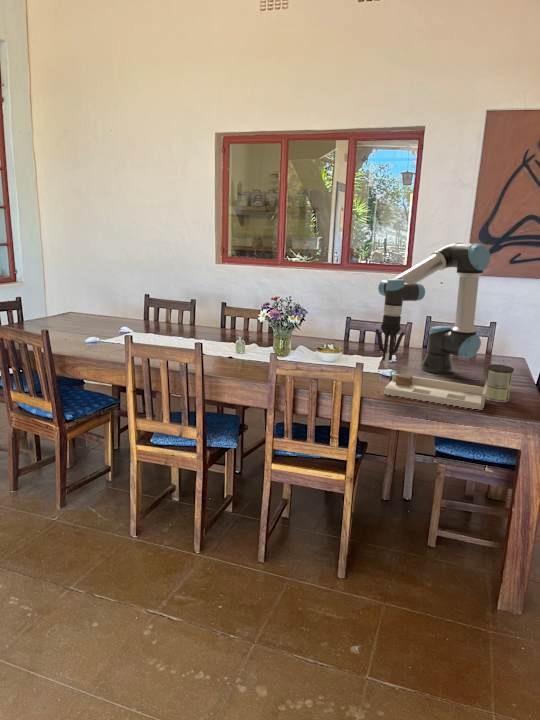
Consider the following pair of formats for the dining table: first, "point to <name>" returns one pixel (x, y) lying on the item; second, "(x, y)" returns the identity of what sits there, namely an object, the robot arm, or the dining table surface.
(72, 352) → the dining table surface
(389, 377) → the sunglasses
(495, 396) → the coffee can
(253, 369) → the dining table surface
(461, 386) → the box
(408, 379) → the block
